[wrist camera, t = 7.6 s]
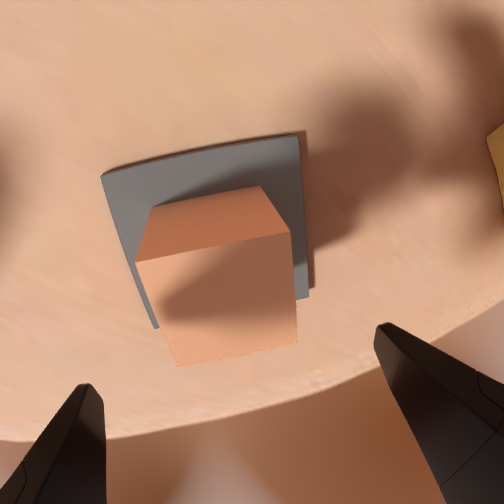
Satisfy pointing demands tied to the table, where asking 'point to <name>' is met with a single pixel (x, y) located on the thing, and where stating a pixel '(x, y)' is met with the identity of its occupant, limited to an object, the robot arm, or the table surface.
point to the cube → (219, 275)
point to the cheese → (498, 154)
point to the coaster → (211, 192)
